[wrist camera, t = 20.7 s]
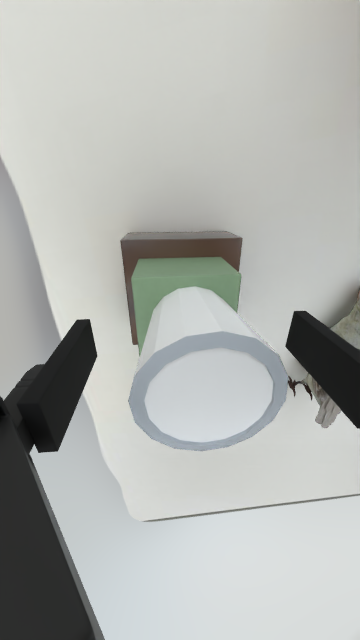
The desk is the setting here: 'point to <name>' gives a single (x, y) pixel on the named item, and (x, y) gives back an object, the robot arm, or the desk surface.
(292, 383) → the decorative bird
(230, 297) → the green block
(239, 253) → the walnut block
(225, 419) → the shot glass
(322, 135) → the desk surface
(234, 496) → the desk surface
